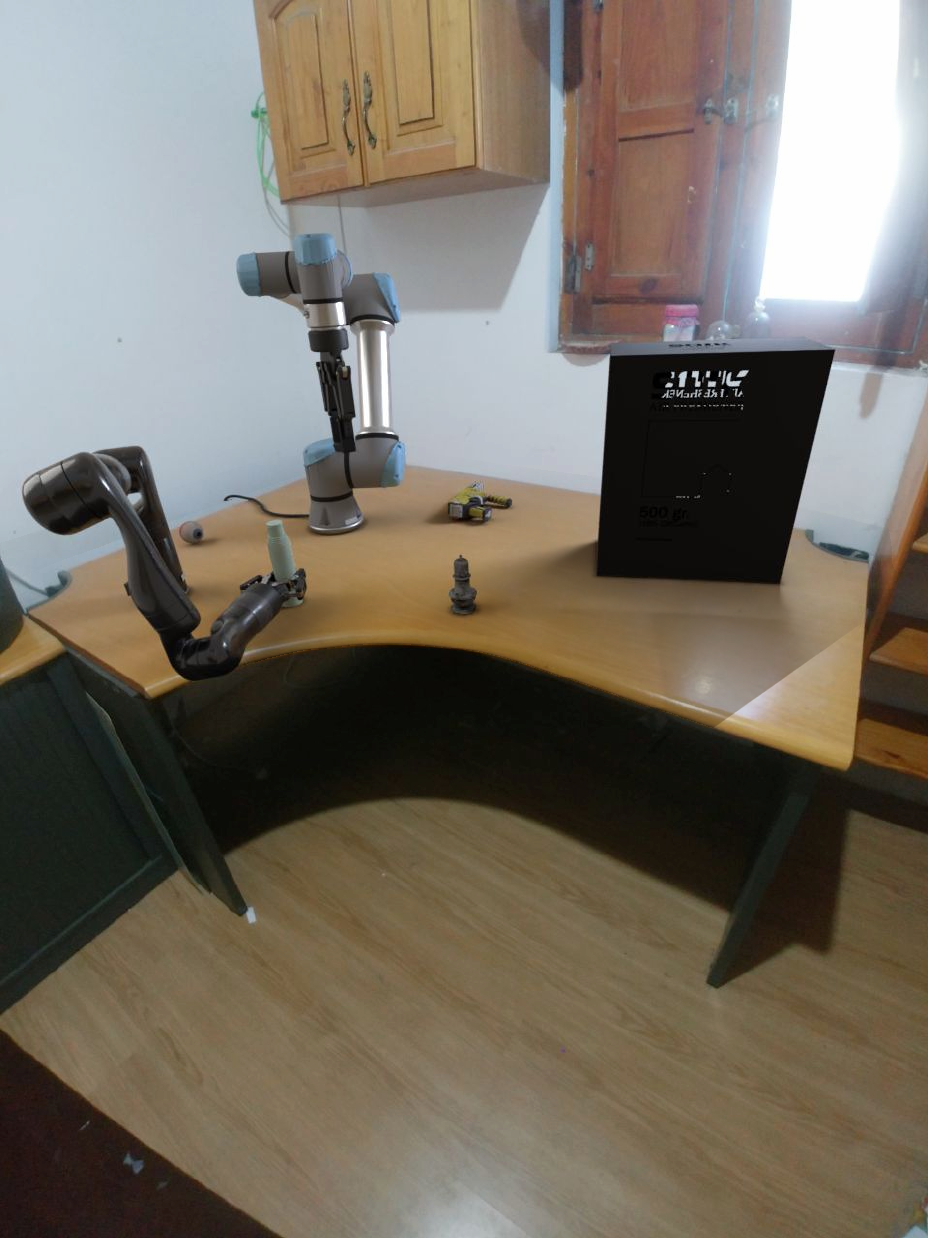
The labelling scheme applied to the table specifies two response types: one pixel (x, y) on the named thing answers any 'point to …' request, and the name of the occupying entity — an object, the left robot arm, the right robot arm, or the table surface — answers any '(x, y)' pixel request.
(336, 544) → the table surface
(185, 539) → the eyeball
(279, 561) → the bottle
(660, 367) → the cardboard box
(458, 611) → the salt shaker
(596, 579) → the table surface
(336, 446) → the cap
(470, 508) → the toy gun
